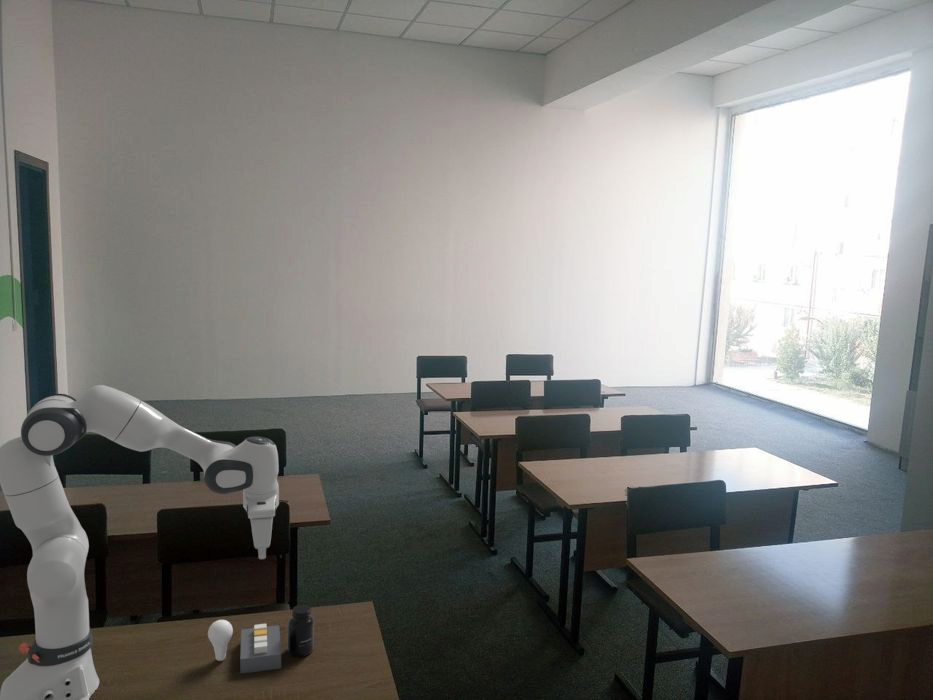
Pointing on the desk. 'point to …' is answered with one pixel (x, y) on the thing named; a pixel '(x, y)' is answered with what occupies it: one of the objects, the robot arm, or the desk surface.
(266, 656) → the breaker strip
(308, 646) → the supplement bottle
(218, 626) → the lightbulb
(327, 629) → the desk surface
